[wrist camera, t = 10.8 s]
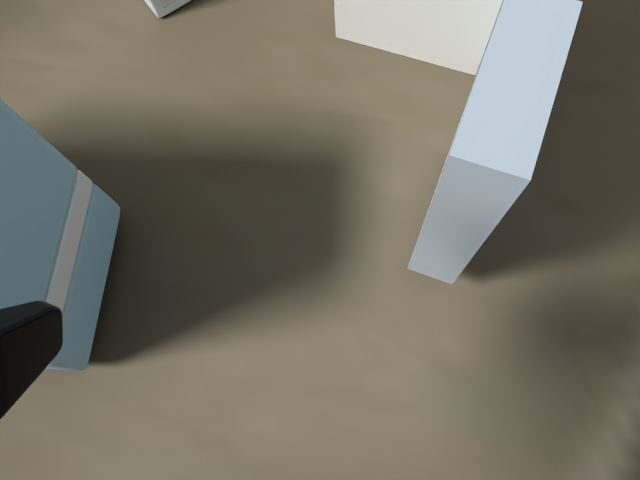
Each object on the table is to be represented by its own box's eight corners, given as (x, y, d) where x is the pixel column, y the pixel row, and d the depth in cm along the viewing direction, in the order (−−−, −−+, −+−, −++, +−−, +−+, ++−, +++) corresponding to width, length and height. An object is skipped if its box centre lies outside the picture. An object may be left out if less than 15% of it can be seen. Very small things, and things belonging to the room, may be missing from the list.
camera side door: (448, 288, 22) (533, 176, 12) (405, 273, 22) (450, 150, 12) (529, 39, 26) (645, -208, 16) (492, 30, 26) (581, -218, 16)
